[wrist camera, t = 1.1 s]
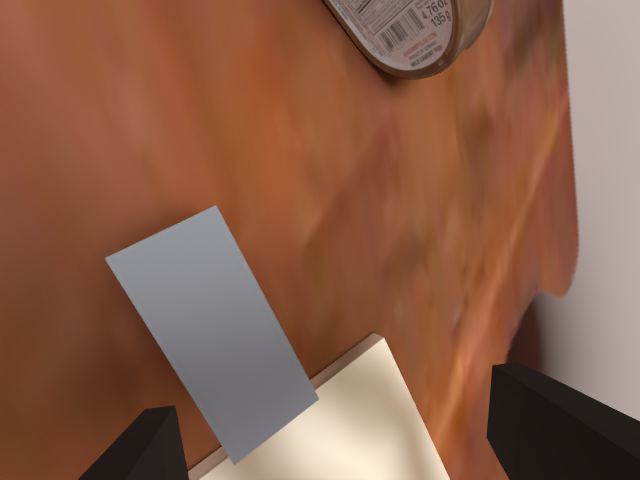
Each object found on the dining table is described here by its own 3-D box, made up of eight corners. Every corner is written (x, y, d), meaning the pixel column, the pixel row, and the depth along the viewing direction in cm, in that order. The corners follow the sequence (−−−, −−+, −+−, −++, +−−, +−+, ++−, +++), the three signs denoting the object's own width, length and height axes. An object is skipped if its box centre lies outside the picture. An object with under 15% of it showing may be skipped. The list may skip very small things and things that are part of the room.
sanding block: (211, 399, 19) (234, 465, 14) (120, 250, 17) (104, 258, 12) (275, 355, 20) (319, 398, 15) (198, 213, 19) (216, 205, 13)
